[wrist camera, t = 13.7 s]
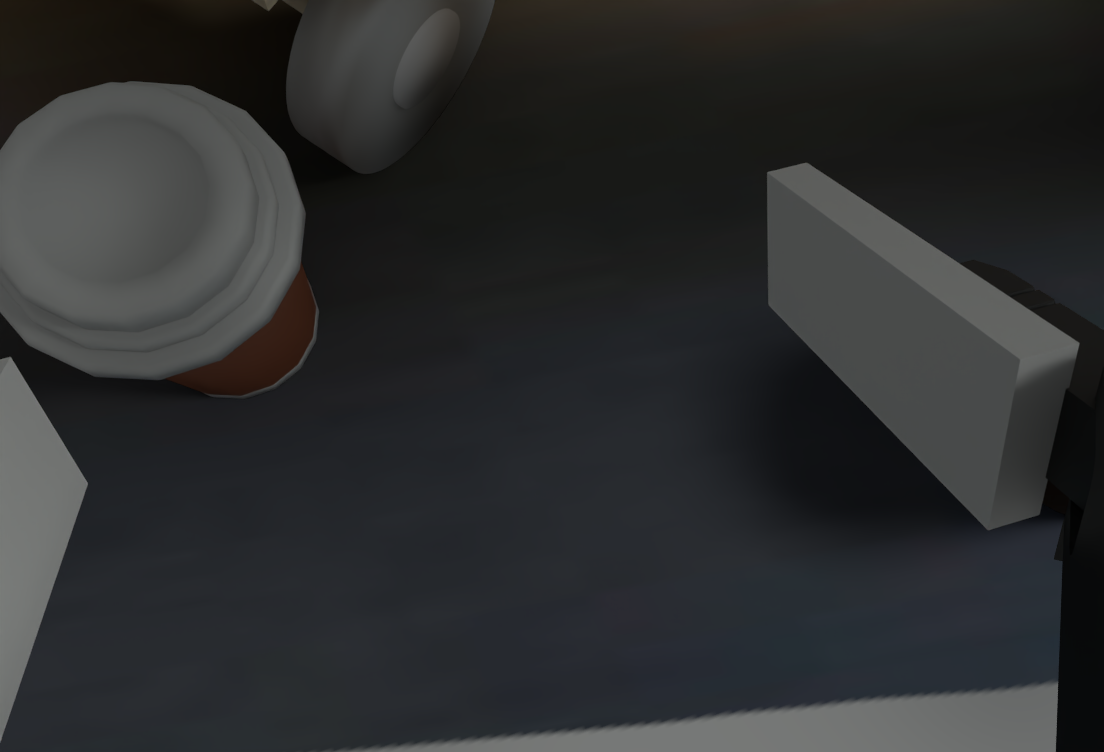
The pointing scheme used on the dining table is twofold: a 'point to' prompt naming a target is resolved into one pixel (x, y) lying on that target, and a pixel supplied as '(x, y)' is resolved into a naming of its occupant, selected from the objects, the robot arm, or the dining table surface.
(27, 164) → the coffee cup
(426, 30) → the wooden trolley
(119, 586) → the dining table surface
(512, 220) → the dining table surface
